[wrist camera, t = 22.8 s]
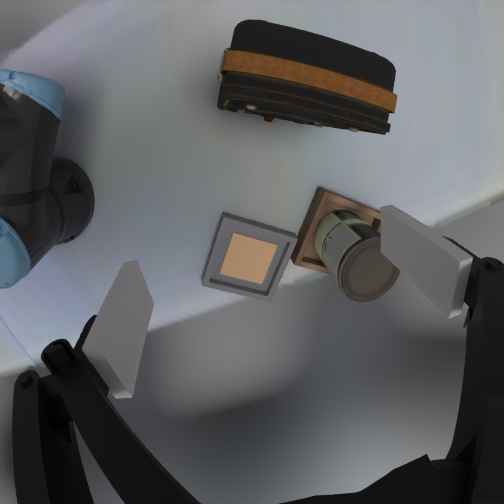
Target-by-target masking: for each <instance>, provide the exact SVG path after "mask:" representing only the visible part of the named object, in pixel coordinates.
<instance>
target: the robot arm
mask: <svg viewBox="0 0 504 504" xmlns="http://www.w3.org/2000/svg"><path fill="white" fill-rule="evenodd" d="M64 97H65V93H64V90H63V88H62V86H61V85H60V84H58V83H57V82H55V81H53V80H50V79H47V78H44V77H41V76H37V75H33V74H29V73H24V72H15V71H10V70H4V69H0V289H5V288H9V287H12V286H13V285H15V284H16V283H17V282H18V281H19V280H20V279H21V278H24V277H25V276H27V275H28V273H29V272H30V270H31V269H32V268H33V267H34V266H35V265H36V264H37V263H38V262H39V261H40V260H41V258H42V257H43V256H44V255H45V254H46V253H47V252H48V251H49V250H50V249H51V248H52V247H53V246H54V245H58V244H63V243H67V242H70V241H72V240H73V239H75V238H76V237H78V236H79V235H80V234H81V233H82V232H83V231H84V230H85V229H86V227H87V226H88V224H89V223H90V221H91V218H92V215H93V211H94V193H93V189H92V186H91V183H90V181H89V179H88V177H87V175H86V174H85V172H84V171H83V170H82V169H81V168H80V167H79V166H78V165H77V164H75V163H74V162H72V161H70V160H67V159H64V158H53V154H54V148H55V142H56V137H57V131H58V126H59V123H60V122H61V120H62V117H61V112H62V107H63V102H64ZM380 212H381V253H382V254H383V255H384V256H385V257H386V258H387V259H389V260H390V261H391V262H392V263H393V264H394V265H395V266H396V267H397V268H398V269H399V270H400V271H401V272H402V273H403V274H404V275H405V276H407V277H408V279H410V280H411V281H412V282H413V283H414V284H415V285H416V286H417V287H418V288H419V289H420V290H421V291H422V292H423V293H424V294H425V295H426V296H427V297H428V298H429V299H430V300H431V301H432V302H433V303H434V304H435V306H437V308H438V309H439V310H440V311H441V312H442V313H443V314H444V315H445V316H446V317H447V318H448V319H450V318H452V317H454V316H457V315H459V314H461V311H462V307H463V303H464V302H465V303H466V304H467V305H468V306H469V308H468V312H467V316H466V319H465V323H464V326H463V327H466V325H467V337H466V354H465V365H464V375H463V384H462V392H461V399H460V406H459V412H458V417H457V422H456V427H455V432H454V437H453V441H452V445H451V448H450V450H449V452H448V454H447V456H446V458H445V459H439V460H432V461H430V459H429V458H428V455H427V454H426V455H424V456H422V457H420V458H418V459H415V460H413V461H411V462H409V463H407V464H405V465H402V466H400V467H398V468H396V469H393V470H392V471H391V472H389V473H388V474H386V475H385V476H384V477H382V478H380V479H379V480H377V481H376V482H374V483H373V484H371V485H370V486H368V487H367V488H365V489H363V490H362V491H359V492H355V493H347V494H346V493H345V494H333V495H316V496H312V497H308V498H303V499H299V500H295V501H290V502H285V503H280V504H504V264H503V263H502V262H501V261H499V260H497V259H495V258H491V257H485V258H481V259H480V258H478V257H477V256H476V255H474V254H473V253H471V252H470V251H468V250H467V249H466V248H464V247H463V246H461V245H458V243H457V242H455V241H454V240H452V239H450V238H447V237H445V236H441V235H440V234H438V233H437V232H435V231H434V230H432V229H431V228H429V227H428V226H426V225H424V224H423V223H421V222H420V221H418V220H416V219H415V218H413V217H411V216H410V215H408V214H407V213H405V212H403V211H402V210H400V209H398V208H397V207H395V206H393V205H388V206H383V207H380ZM153 306H154V302H153V300H152V297H151V295H150V292H149V290H148V287H147V285H146V282H145V280H144V277H143V275H142V272H141V270H140V267H139V264H138V262H137V260H135V261H130V262H126V263H124V264H123V266H122V268H121V269H120V271H119V273H118V275H117V277H116V279H115V281H114V283H113V285H112V286H111V288H110V290H109V292H108V294H107V296H106V298H105V300H104V302H103V304H102V306H101V308H100V310H99V312H98V315H93V316H92V317H91V318H90V319H89V320H88V322H87V323H86V324H85V326H84V328H83V332H82V333H81V335H80V338H79V339H78V341H77V343H76V345H75V347H74V349H73V348H72V346H71V345H70V343H69V342H68V341H67V340H66V339H58V340H55V341H53V342H51V343H50V344H49V345H47V346H46V348H45V349H44V350H43V352H42V354H41V359H42V361H43V362H44V364H45V365H46V366H47V368H48V369H49V371H50V372H51V373H52V374H51V375H48V376H45V377H42V378H41V377H40V376H39V374H38V373H37V372H36V371H34V370H29V371H26V372H24V373H22V374H21V375H20V376H19V377H18V379H17V380H16V382H15V385H14V397H13V418H12V420H13V422H12V445H13V465H14V478H15V488H16V496H17V503H18V504H94V502H93V499H92V496H91V492H90V489H89V486H88V483H87V479H86V476H85V472H84V468H83V464H82V460H81V456H80V453H79V448H78V443H77V439H76V434H75V428H74V424H73V421H74V422H75V425H76V426H77V428H78V430H79V432H80V434H81V436H82V438H83V439H84V441H85V443H86V445H87V447H88V448H89V450H90V452H91V453H92V455H93V457H94V458H95V460H96V461H97V463H98V465H99V467H100V468H101V469H102V471H103V473H104V474H105V476H106V477H107V479H108V480H109V482H110V483H111V485H112V486H113V488H114V489H115V490H116V492H117V493H118V495H119V496H120V497H121V499H122V500H123V501H124V503H125V504H201V503H200V502H199V501H198V500H196V498H194V497H193V496H192V495H191V494H190V493H189V492H188V491H187V490H186V489H185V488H184V487H183V486H182V485H181V484H180V483H179V482H178V481H177V480H176V479H175V478H174V477H173V476H172V475H171V474H170V473H169V472H168V471H167V470H166V469H165V468H164V467H163V466H162V464H161V463H160V462H159V461H158V460H157V459H156V458H155V457H154V456H153V455H152V453H151V452H150V451H149V450H148V449H147V448H146V446H145V445H144V444H143V443H142V442H141V440H140V439H139V438H138V437H137V436H136V434H135V433H134V432H133V431H132V429H131V428H130V427H129V426H128V424H127V423H126V422H125V421H124V419H123V418H122V417H121V415H120V414H119V413H118V411H117V410H116V409H115V407H114V406H113V404H112V403H111V402H110V400H109V399H108V398H107V395H108V391H109V390H110V391H111V392H112V394H113V395H114V396H115V398H130V397H132V396H133V390H134V386H135V381H136V376H137V372H138V367H139V363H140V358H141V354H142V349H143V345H144V341H145V337H146V333H147V329H148V325H149V321H150V317H151V313H152V309H153Z"/></svg>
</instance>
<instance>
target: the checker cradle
mask: <svg viewBox="0 0 504 504" xmlns="http://www.w3.org/2000/svg"><path fill="white" fill-rule="evenodd" d="M297 240H298V238H297V237H296V235H295V234H294V233H291V232H288V231H284V230H281V229H278V228H275V227H271V226H268V225H265V224H261V223H258V222H254V221H251V220H248V219H244V218H241V217H237V216H234V215H231V214H227V213H224V212H223V215H222V218H221V221H220V224H219V227H218V230H217V233H216V236H215V239H214V243H213V246H212V249H211V252H210V255H209V258H208V261H207V265H206V268H205V271H204V274H203V278H202V286H206V287H210V288H214V289H218V290H222V291H226V292H230V293H235V294H239V295H243V296H247V297H252V298H256V299H260V300H265V301H270V302H271V300H272V298H273V296H274V293H275V291H276V289H277V287H278V284H279V282H280V280H281V278H282V275H283V273H284V271H285V268H286V266H287V264H288V261H289V259H290V257H291V255H292V252H293V250H294V247H295V245H296V243H297Z"/></svg>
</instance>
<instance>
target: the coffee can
mask: <svg viewBox="0 0 504 504" xmlns="http://www.w3.org/2000/svg"><path fill="white" fill-rule="evenodd" d="M311 243H312V247H313V249H314V251H315V252H316V254H317V255H318V256H319V257H320V258H321V260H322V261H323V263H324V264H325V266H326V267H327V269H328V270H329V271H330V273H331V274H332V276H333V277H334V279H335V280H336V282H337V283H338V285H339V287H340V289H341V290H342V292H343V294H344V295H345V296H346V297H348V298H349V299H351V300H353V301H357V302H368V301H372V300H374V299H377V298H379V297H380V296H382V295H383V294H385V293H386V292H387V291H388V290H389V289H390V288H391V287H392V286H393V285H394V283H395V281H396V280H397V278H398V276H399V273H400V270H399V269H398V268H397V267H396V266H395V265H394V264H393V263H392V262H391V261H390V260H389V259H387V258H386V257H385V256H384V255H383V254H382V253H381V233H380V232H378V231H377V230H376V229H374V228H373V227H372V226H370V225H369V224H368V223H367V222H365V221H364V220H363V219H361V218H360V217H359V216H358V215H357V214H356V213H354V212H353V211H351V210H349V209H345V208H336V209H332V210H330V211H327V212H326V213H324V214H323V215H322V216H321V217H320V219H319V222H318V224H317V227H316V229H315V231H314V233H313V236H312V238H311Z"/></svg>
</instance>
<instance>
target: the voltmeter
mask: <svg viewBox="0 0 504 504" xmlns="http://www.w3.org/2000/svg"><path fill="white" fill-rule="evenodd" d="M395 74H396V70H395V67H394V65H393V64H392V63H391V62H390V61H389V60H387V59H386V58H384V57H382V56H379V55H378V54H376V53H374V52H369V51H367V50H364V49H361V48H359V47H356V46H353V45H350V44H347V43H344V42H341V41H338V40H335V39H332V38H329V37H326V36H322V35H319V34H315V33H312V32H308V31H304V30H300V29H296V28H292V27H288V26H284V25H279V24H274V23H269V22H267V21H263V20H245V21H242V22H240V23H238V24H237V26H236V27H235V30H234V34H233V38H232V42H231V47H230V48H225V50H224V53H223V54H222V59H221V64H220V70H219V75H218V77H219V80H218V82H219V84H221V85H220V92H219V98H218V105H217V107H219V109H223V110H230V111H232V112H244V113H250V114H256V115H262V116H263V117H264V121H266V122H272V121H273V119H274V118H279V119H283V120H289V121H294V122H295V123H300V124H308V125H315V126H316V127H322V126H326V127H333V128H339V129H349V130H350V131H352V132H358V131H364V132H371V133H377V134H383V135H385V134H386V132H389V131H390V126H391V125H390V124H389V123H387V122H388V117H389V113H394V112H395V107H396V101H397V95H396V94H394V93H393V88H394V81H395Z"/></svg>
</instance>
